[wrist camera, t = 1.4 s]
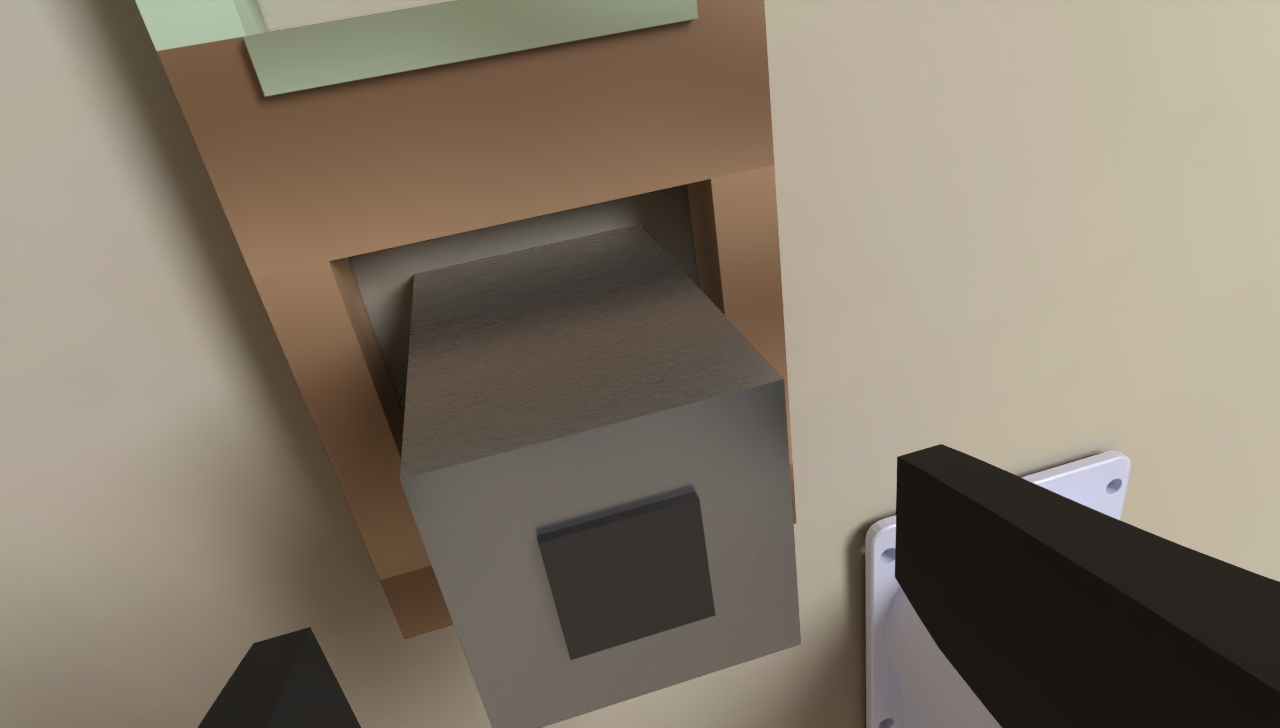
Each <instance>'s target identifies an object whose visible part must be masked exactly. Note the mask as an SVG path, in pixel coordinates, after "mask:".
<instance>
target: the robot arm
mask: <svg viewBox="0 0 1280 728" xmlns="http://www.w3.org/2000/svg"><path fill="white" fill-rule="evenodd" d="M1130 468H1131V461H1130V460H1129V458H1128V457H1126V456H1125V455H1123V454H1122V453H1120V452H1118V451H1116V450H1113V451H1107V452H1104V453H1101V454H1098V455H1094V456H1091V457H1088V458H1084V459H1081V460H1078V461H1074V462H1071V463H1068V464H1064V465H1061V466H1058V467H1054V468H1051V469H1048V470H1044V471H1041V472H1038V473H1034V474H1031V475H1028V476H1024V477H1018V476H1016V475H1014V474H1011V473H1009V472H1007V471H1005V470H1002V469H1000V468H998V467H995V466H993V465H991V464H988V463H986V462H984V461H981V460H979V459H977V458H974V457H972V456H970V455H967V454H965V453H962V452H960V451H957V450H955V449H952V448H949V447H947V446H944V445H941V444H940V445H937V446H933V447H930V448H926V449H923V450H919V451H916V452H913V453H909V454H906V455H902V456H899V457H897V499H896V515H895V516H891V517H888V518H885V519H881V520H879V521H877V522H875V523H874V524H873V525H872V526H871V527H870V528H869V530H868V531H867V534H866V538H865V555H866V728H1280V582H1278V581H1275V580H1272V579H1270V578H1267V577H1264V576H1261V575H1258V574H1256V573H1253V572H1250V571H1248V570H1245V569H1242V568H1240V567H1237V566H1234V565H1232V564H1229V563H1226V562H1224V561H1221V560H1218V559H1216V558H1213V557H1210V556H1208V555H1205V554H1203V553H1200V552H1197V551H1195V550H1192V549H1189V548H1187V547H1184V546H1181V545H1179V544H1176V543H1174V542H1172V541H1169V540H1167V539H1164V538H1162V537H1159V536H1157V535H1154V534H1152V533H1149V532H1147V531H1144V530H1142V529H1139V528H1137V527H1134V526H1132V525H1130V524H1127V523H1125V522H1122V521H1120V517H1121V512H1122V508H1123V503H1124V498H1125V493H1126V488H1127V483H1128V478H1129V473H1130ZM885 550H887V551H886V552H884V551H885ZM883 552H884V553H883ZM198 728H361V727H360V725H359V723H358V721H357V719H356V717H355V715H354V713H353V711H352V709H351V707H350V705H349V703H348V701H347V699H346V697H345V695H344V693H343V691H342V689H341V687H340V685H339V683H338V681H337V679H336V677H335V675H334V673H333V671H332V669H331V667H330V665H329V663H328V661H327V659H326V657H325V655H324V653H323V651H322V649H321V647H320V646H319V644H318V642H317V640H316V638H315V636H314V634H313V632H312V630H311V628H310V627H309V628H305V629H302V630H299V631H295V632H292V633H288V634H285V635H281V636H278V637H274V638H271V639H267V640H264V641H261V642H257V643H254V644H253V645H252V647H251V648H250V649H249V651H248V652H247V654H246V655H245V657H244V658H243V660H242V661H241V663H240V664H239V666H238V667H237V669H236V670H235V672H234V673H233V675H232V676H231V678H230V679H229V681H228V682H227V684H226V685H225V687H224V688H223V690H222V691H221V693H220V694H219V696H218V697H217V699H216V700H215V702H214V703H213V705H212V706H211V708H210V710H209V711H208V713H207V714H206V716H205V717H204V719H203V720H202V722H201V723H200V725H199V726H198Z"/></svg>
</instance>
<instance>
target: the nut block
mask: <svg viewBox="0 0 1280 728" xmlns="http://www.w3.org/2000/svg"><path fill="white" fill-rule="evenodd" d="M400 482H401V484H402V487H403V490H404V492H405V495H406V498H407V500H408V503H409V506H410V508H411V511H412V514H413V516H414V519H415V522H416V525H417V527H418V530H419V533H420V535H421V538H422V541H423V543H424V546H425V549H426V551H427V554H428V557H429V559H430V562H431V565H432V567H433V570H434V573H435V575H436V578H437V581H438V584H439V586H440V589H441V592H442V594H443V597H444V600H445V602H446V605H447V608H448V610H449V613H450V616H451V618H452V621H453V624H454V626H455V629H456V632H457V635H458V637H459V640H460V643H461V645H462V648H463V651H464V653H465V656H466V659H467V661H468V664H469V667H470V669H471V672H472V675H473V677H474V680H475V683H476V685H477V688H478V691H479V694H480V696H481V699H482V702H483V704H484V707H485V710H486V712H487V715H488V718H489V720H490V723H491V726H492V728H542V727H545V726H548V725H551V724H554V723H557V722H560V721H563V720H566V719H570V718H573V717H576V716H579V715H582V714H585V713H588V712H591V711H594V710H597V709H601V708H604V707H607V706H610V705H613V704H616V703H619V702H622V701H625V700H629V699H632V698H635V697H638V696H641V695H644V694H647V693H650V692H653V691H656V690H660V689H663V688H666V687H669V686H672V685H675V684H678V683H681V682H684V681H688V680H691V679H694V678H697V677H700V676H703V675H706V674H709V673H712V672H715V671H719V670H722V669H725V668H728V667H731V666H734V665H737V664H740V663H743V662H746V661H750V660H753V659H756V658H759V657H762V656H765V655H768V654H771V653H774V652H778V651H781V650H784V649H787V648H790V647H793V646H796V645H799V644H801V636H800V621H799V605H798V589H797V573H796V558H795V542H794V526H793V510H792V495H791V479H790V463H789V447H788V432H787V416H786V400H785V384H784V378H783V377H782V376H781V375H780V374H779V373H778V372H777V371H776V370H775V369H774V367H773V366H772V365H771V364H770V363H769V362H768V361H767V360H766V359H765V358H764V357H763V356H762V355H761V354H760V352H759V351H758V350H757V349H756V348H755V347H754V346H753V345H752V344H751V343H750V342H749V341H748V340H747V339H746V337H745V336H744V335H743V334H742V333H741V332H740V331H739V330H738V329H737V328H736V327H735V326H734V325H733V324H732V323H731V321H730V320H729V319H728V318H727V317H726V316H725V315H724V314H723V313H722V312H721V311H720V310H719V309H718V308H717V306H716V305H715V304H714V303H713V302H712V301H711V300H710V299H709V298H708V297H707V296H706V295H705V294H704V293H703V291H702V290H701V289H700V288H699V287H698V286H697V285H696V284H695V283H694V282H693V281H692V280H691V279H690V278H689V276H688V275H687V274H686V273H685V272H684V271H683V270H682V269H681V268H680V267H679V266H678V265H677V264H676V263H675V261H674V260H673V259H672V258H671V257H670V256H669V255H668V254H667V253H666V252H665V251H664V250H663V249H662V248H661V247H660V245H659V244H658V243H657V242H656V241H655V240H654V239H653V238H652V237H651V236H650V235H649V234H648V233H647V232H646V230H645V229H644V228H643V227H642V226H641V225H640V224H639V225H634V226H630V227H625V228H621V229H616V230H612V231H607V232H603V233H598V234H594V235H589V236H585V237H580V238H576V239H571V240H567V241H562V242H558V243H553V244H549V245H544V246H540V247H535V248H531V249H526V250H522V251H517V252H513V253H508V254H504V255H499V256H495V257H490V258H486V259H481V260H477V261H472V262H468V263H463V264H459V265H454V266H450V267H445V268H441V269H436V270H432V271H427V272H423V273H418V274H414V284H413V299H412V313H411V327H410V342H409V356H408V370H407V384H406V399H405V413H404V427H403V442H402V456H401V470H400Z"/></svg>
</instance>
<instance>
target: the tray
mask: <svg viewBox="0 0 1280 728" xmlns="http://www.w3.org/2000/svg"><path fill="white" fill-rule="evenodd" d="M135 1H136V4H137V6H138V9H139V11H140V13H141V16H142V18H143V20H144V23H145V25H146V27H147V30H148V32H149V35H150V37H151V39H152V42H153V44H154V46H155V49H156V51H157V54H158V56H159V58H160V61H161V63H162V65H163V68H164V70H165V72H166V75H167V77H168V80H169V82H170V84H171V87H172V89H173V91H174V94H175V96H176V99H177V101H178V103H179V106H180V108H181V110H182V113H183V115H184V117H185V120H186V122H187V125H188V127H189V129H190V132H191V134H192V136H193V139H194V141H195V144H196V146H197V148H198V151H199V153H200V155H201V158H202V160H203V162H204V165H205V167H206V170H207V172H208V174H209V177H210V179H211V181H212V184H213V186H214V189H215V191H216V193H217V196H218V198H219V200H220V203H221V205H222V207H223V210H224V212H225V215H226V217H227V219H228V222H229V224H230V226H231V229H232V231H233V234H234V236H235V238H236V241H237V243H238V245H239V248H240V250H241V252H242V255H243V257H244V260H245V262H246V264H247V267H248V269H249V271H250V274H251V276H252V279H253V281H254V283H255V286H256V288H257V290H258V293H259V295H260V297H261V300H262V302H263V305H264V307H265V309H266V312H267V314H268V316H269V319H270V321H271V323H272V326H273V328H274V331H275V333H276V335H277V338H278V340H279V342H280V345H281V347H282V350H283V352H284V354H285V357H286V359H287V361H288V364H289V366H290V368H291V371H292V373H293V376H294V378H295V380H296V383H297V385H298V387H299V390H300V392H301V395H302V397H303V399H304V402H305V404H306V406H307V409H308V411H309V413H310V416H311V418H312V421H313V423H314V425H315V428H316V430H317V432H318V435H319V437H320V440H321V442H322V444H323V447H324V449H325V451H326V454H327V456H328V458H329V461H330V463H331V466H332V468H333V470H334V473H335V475H336V477H337V480H338V482H339V485H340V487H341V489H342V492H343V494H344V496H345V499H346V501H347V503H348V506H349V508H350V511H351V513H352V515H353V518H354V520H355V522H356V525H357V527H358V530H359V532H360V534H361V537H362V539H363V541H364V544H365V546H366V548H367V551H368V553H369V556H370V558H371V560H372V563H373V565H374V567H375V570H376V572H377V575H378V577H379V579H380V582H381V584H382V586H383V589H384V591H385V593H386V596H387V598H388V601H389V603H390V605H391V608H392V610H393V612H394V615H395V617H396V620H397V622H398V624H399V627H400V629H401V631H402V634H403V636H404V638H405V639H406V638H409V637H413V636H416V635H419V634H423V633H426V632H430V631H433V630H436V629H440V628H443V627H447V626H450V625H453V621H452V618H451V616H450V613H449V610H448V608H447V605H446V602H445V600H444V597H443V594H442V592H441V589H440V586H439V584H438V581H437V578H436V575H435V573H434V570H433V567H432V565H431V562H430V559H429V557H428V554H427V551H426V549H425V546H424V543H423V541H422V538H421V535H420V533H419V530H418V527H417V525H416V522H415V519H414V516H413V514H412V511H411V508H410V506H409V503H408V500H407V498H406V495H405V492H404V490H403V487H402V484H401V482H400V470H401V456H402V442H403V427H404V416H403V414H402V411H401V408H400V405H399V402H398V399H397V397H396V394H395V391H394V388H393V385H392V382H391V379H390V377H389V374H388V371H387V368H386V365H385V362H384V360H383V357H382V354H381V351H380V348H379V345H378V343H377V340H376V337H375V334H374V331H373V328H372V326H371V323H370V320H369V317H368V314H367V311H366V309H365V306H364V303H363V300H362V297H361V294H360V291H359V289H358V286H357V283H356V280H355V277H354V274H353V272H352V269H351V266H350V263H349V260H348V257H351V256H355V255H360V254H365V253H369V252H374V251H379V250H383V249H388V248H392V247H397V246H402V245H406V244H411V243H416V242H420V241H425V240H430V239H434V238H439V237H443V236H448V235H453V234H457V233H462V232H467V231H471V230H476V229H481V228H485V227H490V226H495V225H499V224H504V223H508V222H513V221H518V220H522V219H527V218H532V217H536V216H541V215H546V214H550V213H555V212H559V211H564V210H569V209H573V208H578V207H583V206H587V205H592V204H597V203H601V202H606V201H610V200H615V199H620V198H624V197H629V196H634V195H638V194H643V193H648V192H652V191H657V190H661V189H666V188H671V187H675V186H680V185H685V184H687V191H688V200H689V208H690V217H691V225H692V234H693V242H694V250H695V259H696V267H697V276H698V284H699V288H700V289H701V290H702V291H703V293H704V294H705V295H706V296H707V297H708V298H709V299H710V300H711V301H712V302H713V303H714V304H715V305H716V306H717V308H718V309H719V310H720V311H721V312H722V313H723V314H724V315H725V316H726V317H727V318H728V319H729V320H730V321H731V323H732V324H733V325H734V326H735V327H736V328H737V329H738V330H739V331H740V332H741V333H742V334H743V335H744V336H745V337H746V339H747V340H748V341H749V342H750V343H751V344H752V345H753V346H754V347H755V348H756V349H757V350H758V351H759V352H760V354H761V355H762V356H763V357H764V358H765V359H766V360H767V361H768V362H769V363H770V364H771V365H772V366H773V367H774V369H775V370H776V371H777V372H778V373H779V374H780V375H781V376H782V377H783V378H784V384H785V400H786V416H787V432H788V447H789V463H790V479H791V495H792V510H793V524H795V523H796V512H795V495H794V479H793V463H792V447H791V430H790V414H789V398H788V382H787V365H786V349H785V333H784V317H783V300H782V284H781V268H780V251H779V235H778V219H777V203H776V186H775V170H774V154H773V138H772V121H771V105H770V89H769V73H768V56H767V40H766V24H765V8H764V0H457V1H452V2H446V3H440V4H434V5H428V6H422V7H416V8H410V9H404V10H398V11H392V12H386V13H380V14H374V15H368V16H362V17H356V18H350V19H344V20H338V21H332V22H326V23H320V24H314V25H309V26H303V27H297V28H291V29H285V30H279V31H273V32H268V30H267V28H266V25H265V22H264V19H263V16H262V13H261V11H260V8H259V5H258V2H257V0H135Z"/></svg>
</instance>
